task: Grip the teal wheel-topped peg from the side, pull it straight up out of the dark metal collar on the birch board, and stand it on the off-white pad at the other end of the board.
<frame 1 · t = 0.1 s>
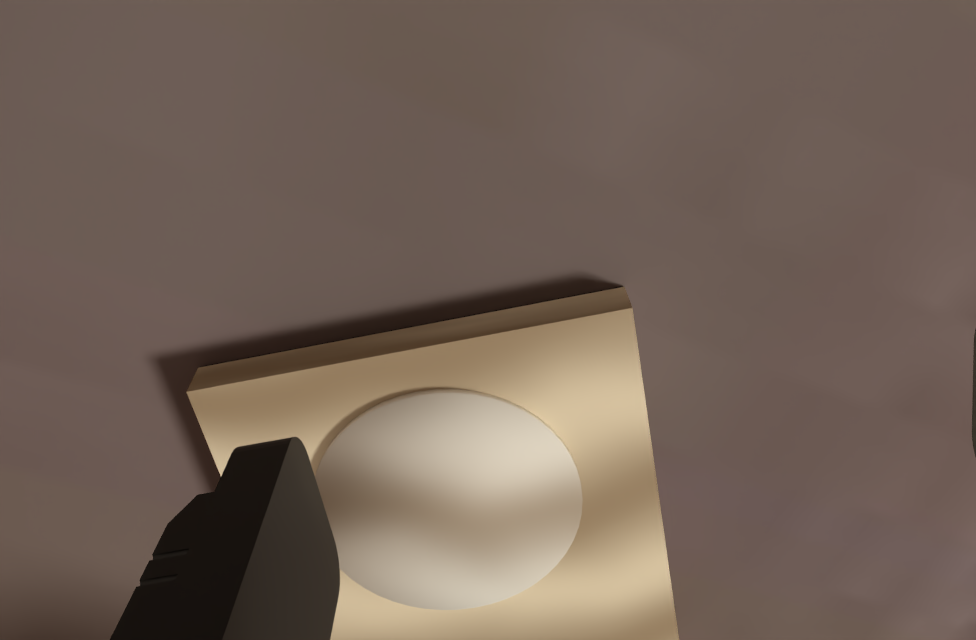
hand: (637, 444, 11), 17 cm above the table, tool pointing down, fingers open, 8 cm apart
eye board: (486, 620, 36), on the table
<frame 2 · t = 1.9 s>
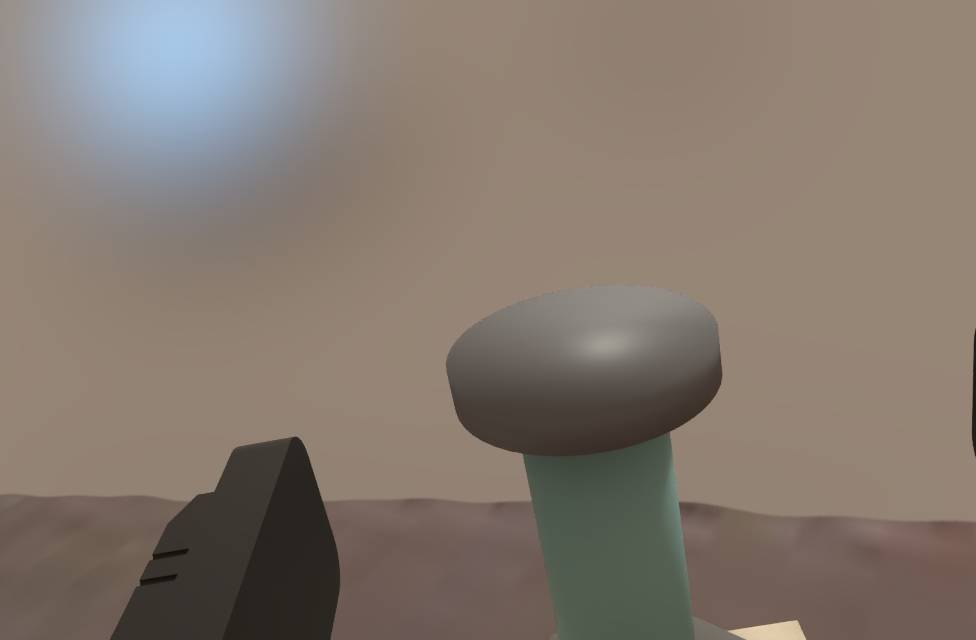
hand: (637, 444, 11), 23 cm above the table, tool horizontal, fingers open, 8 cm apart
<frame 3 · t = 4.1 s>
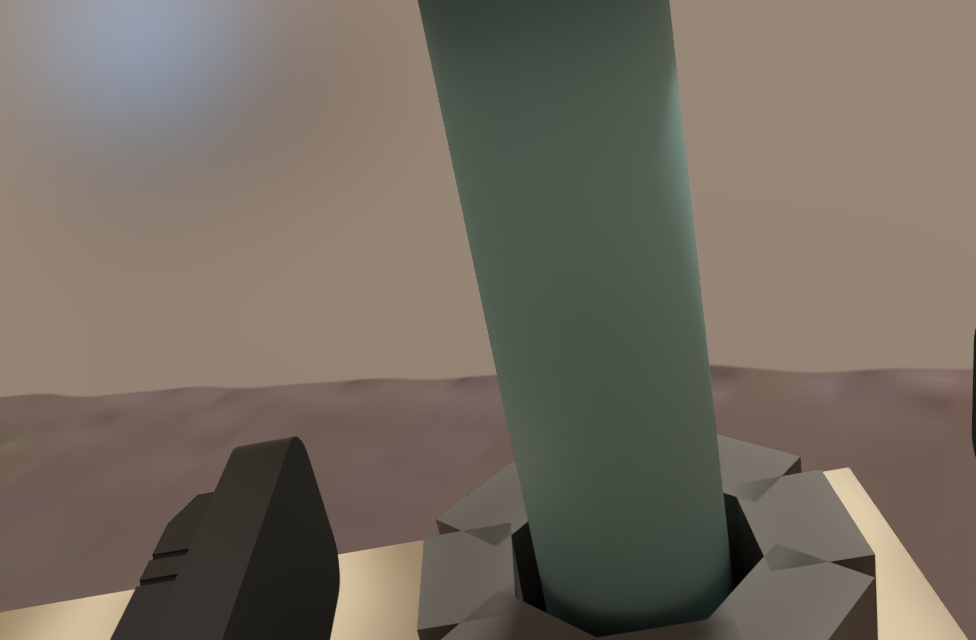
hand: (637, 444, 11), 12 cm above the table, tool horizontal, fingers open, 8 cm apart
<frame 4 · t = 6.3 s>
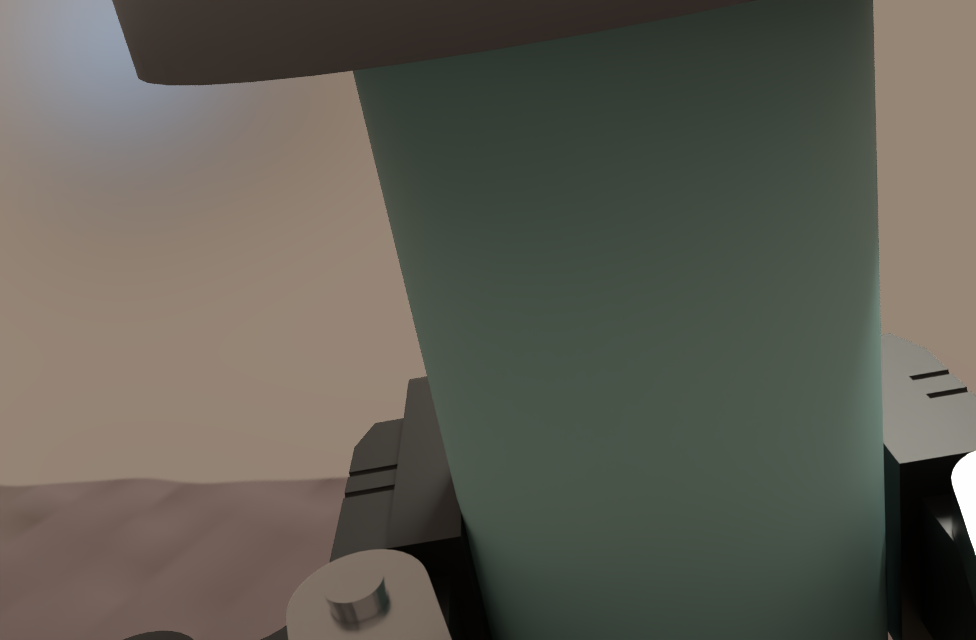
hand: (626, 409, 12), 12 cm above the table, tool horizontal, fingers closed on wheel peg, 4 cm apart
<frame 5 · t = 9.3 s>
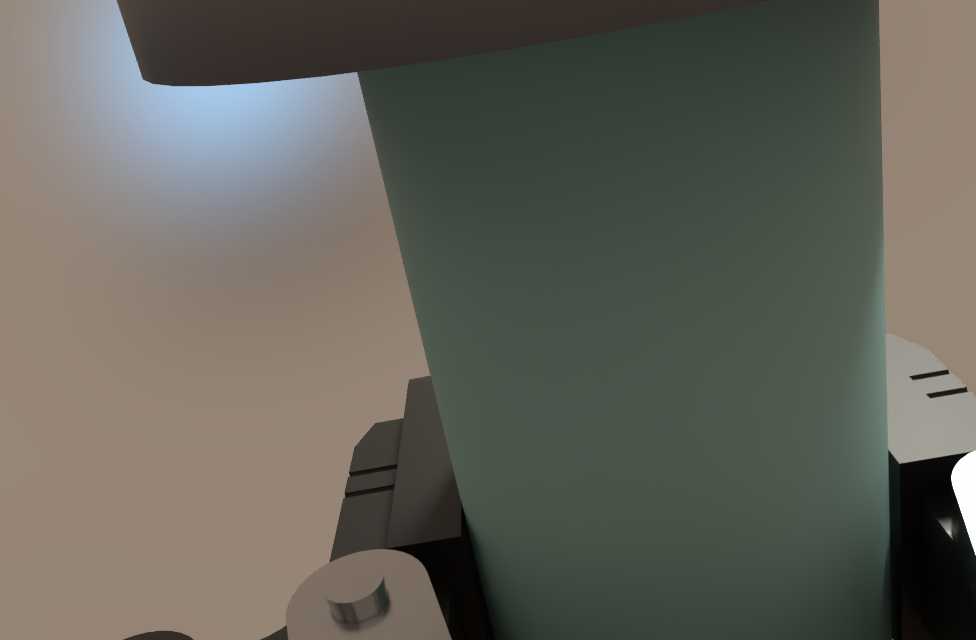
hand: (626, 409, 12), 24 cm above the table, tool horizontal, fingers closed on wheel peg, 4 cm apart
when the fingers open (13 cm above the table, at t = 12.1 s): wheel peg drops 1 cm, resting on eye board.
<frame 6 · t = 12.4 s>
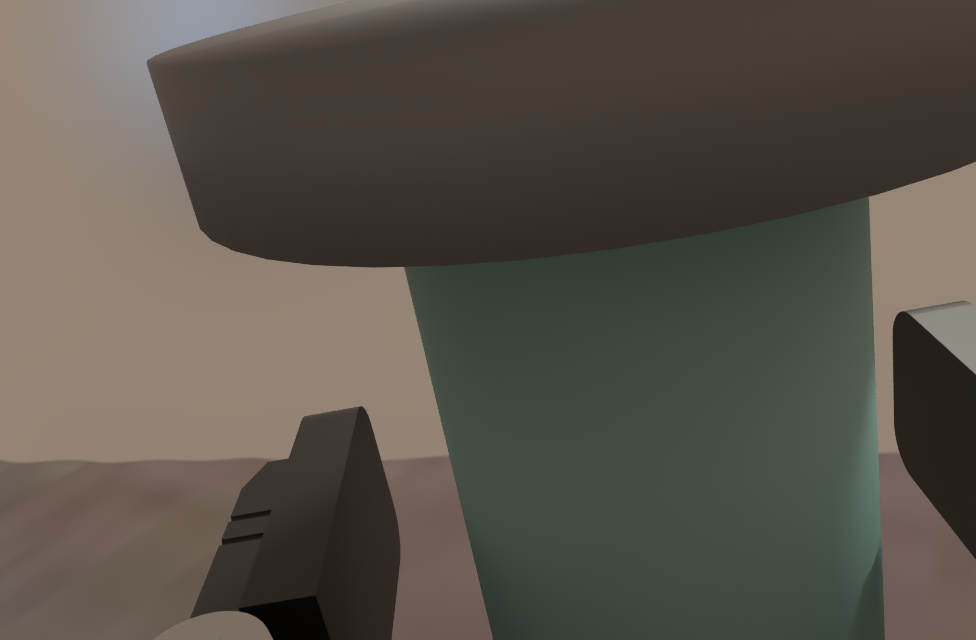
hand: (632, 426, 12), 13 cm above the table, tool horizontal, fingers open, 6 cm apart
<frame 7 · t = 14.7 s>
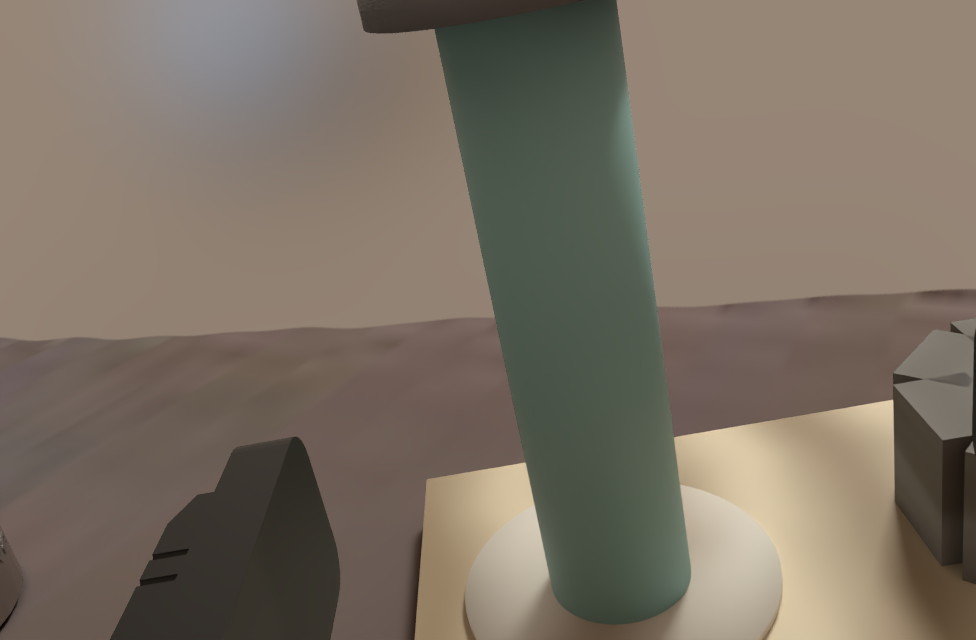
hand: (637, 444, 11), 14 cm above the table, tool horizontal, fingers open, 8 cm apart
wheel peg: (620, 574, 27), point 2 cm above the table, touching eye board
eye board: (864, 582, 27), on the table
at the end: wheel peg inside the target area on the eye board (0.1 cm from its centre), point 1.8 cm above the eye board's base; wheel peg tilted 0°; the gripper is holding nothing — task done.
